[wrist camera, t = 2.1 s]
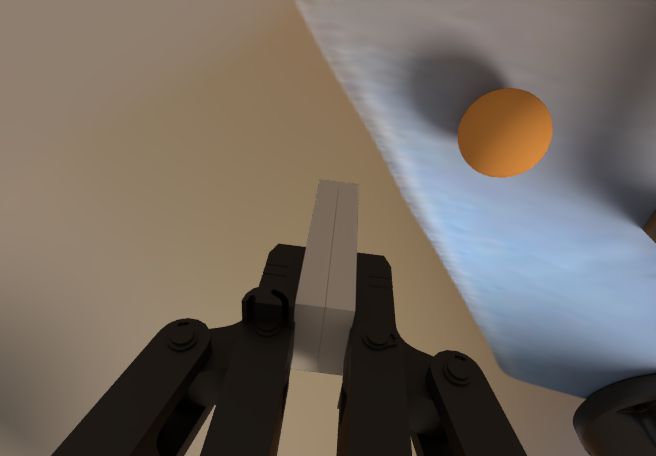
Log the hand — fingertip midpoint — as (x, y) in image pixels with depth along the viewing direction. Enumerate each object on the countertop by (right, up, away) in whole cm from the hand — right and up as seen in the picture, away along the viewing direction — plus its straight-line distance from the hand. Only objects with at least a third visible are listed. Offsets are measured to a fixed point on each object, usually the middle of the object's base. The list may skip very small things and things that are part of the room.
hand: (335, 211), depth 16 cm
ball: (+11, +5, +9) cm, 15 cm away
